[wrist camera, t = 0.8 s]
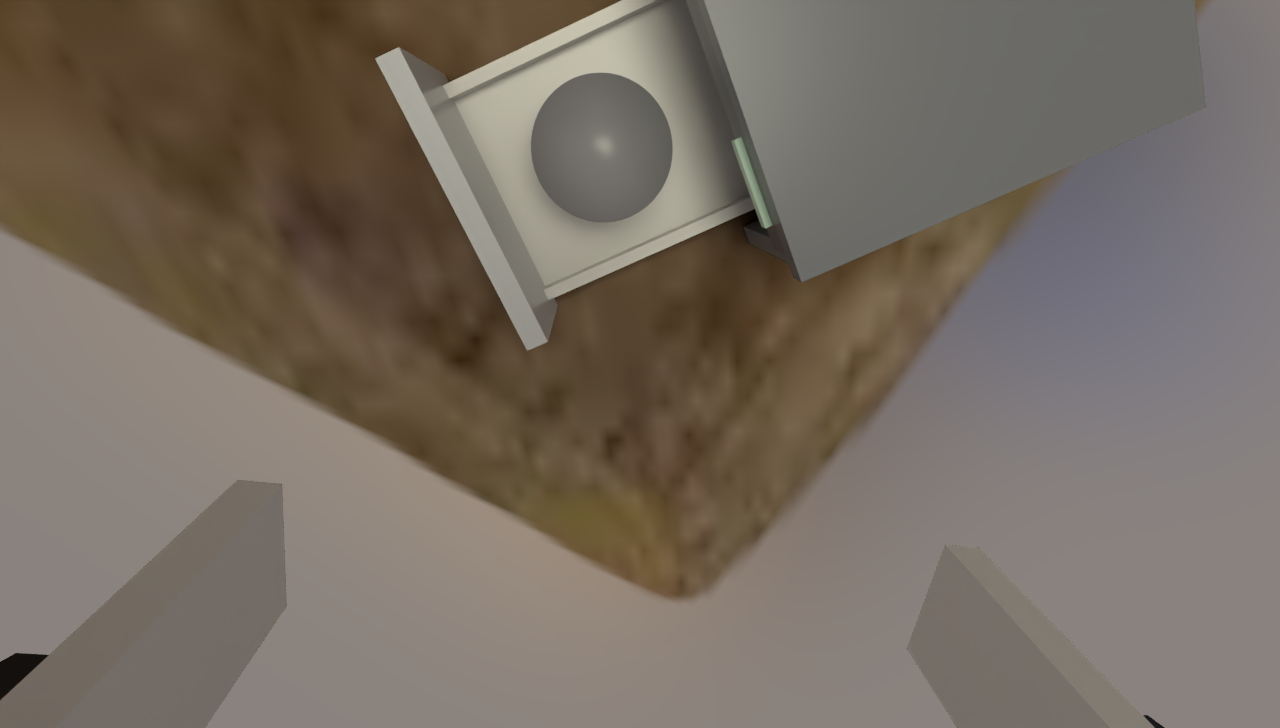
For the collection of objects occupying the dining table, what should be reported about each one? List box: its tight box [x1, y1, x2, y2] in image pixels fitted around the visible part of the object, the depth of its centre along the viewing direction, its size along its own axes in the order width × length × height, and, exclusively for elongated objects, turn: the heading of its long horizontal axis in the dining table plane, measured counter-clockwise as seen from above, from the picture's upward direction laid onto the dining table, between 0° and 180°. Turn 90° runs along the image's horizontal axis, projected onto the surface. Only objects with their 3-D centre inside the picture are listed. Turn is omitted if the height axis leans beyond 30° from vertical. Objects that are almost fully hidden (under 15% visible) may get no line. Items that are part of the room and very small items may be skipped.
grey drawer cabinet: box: [686, 0, 1206, 282], centre depth 26 cm, size 15×16×10 cm
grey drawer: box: [375, 0, 755, 351], centre depth 28 cm, size 13×16×7 cm
